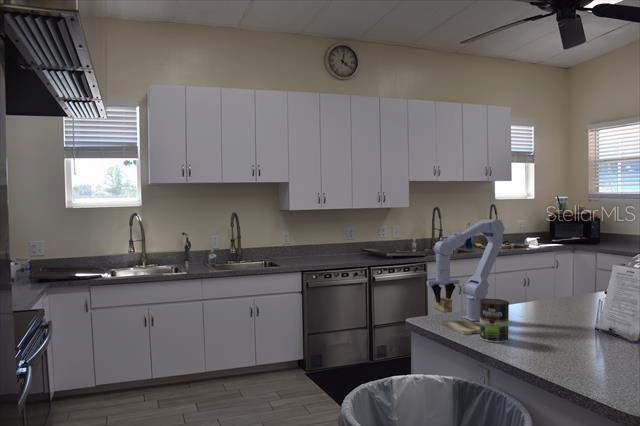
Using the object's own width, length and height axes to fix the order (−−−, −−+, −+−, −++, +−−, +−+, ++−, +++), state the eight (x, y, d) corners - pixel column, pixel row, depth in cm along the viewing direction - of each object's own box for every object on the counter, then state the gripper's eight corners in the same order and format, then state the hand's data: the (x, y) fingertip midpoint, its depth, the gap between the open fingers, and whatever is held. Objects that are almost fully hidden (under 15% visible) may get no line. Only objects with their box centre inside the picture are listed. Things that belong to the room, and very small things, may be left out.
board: (467, 322, 213) (467, 319, 213) (490, 332, 197) (491, 328, 197) (442, 324, 209) (442, 321, 209) (463, 334, 194) (463, 331, 194)
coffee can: (506, 344, 180) (506, 304, 180) (477, 340, 185) (477, 302, 185) (510, 337, 189) (510, 299, 189) (482, 334, 194) (482, 297, 194)
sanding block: (442, 307, 219) (442, 296, 219) (452, 312, 212) (452, 300, 211) (434, 308, 218) (434, 296, 218) (443, 312, 210) (443, 300, 210)
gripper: (453, 267, 220) (453, 299, 220) (423, 269, 216) (423, 301, 216) (462, 270, 213) (462, 302, 214) (431, 271, 209) (431, 304, 210)
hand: (443, 301), depth 215 cm, fingers closed on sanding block, 4 cm apart
